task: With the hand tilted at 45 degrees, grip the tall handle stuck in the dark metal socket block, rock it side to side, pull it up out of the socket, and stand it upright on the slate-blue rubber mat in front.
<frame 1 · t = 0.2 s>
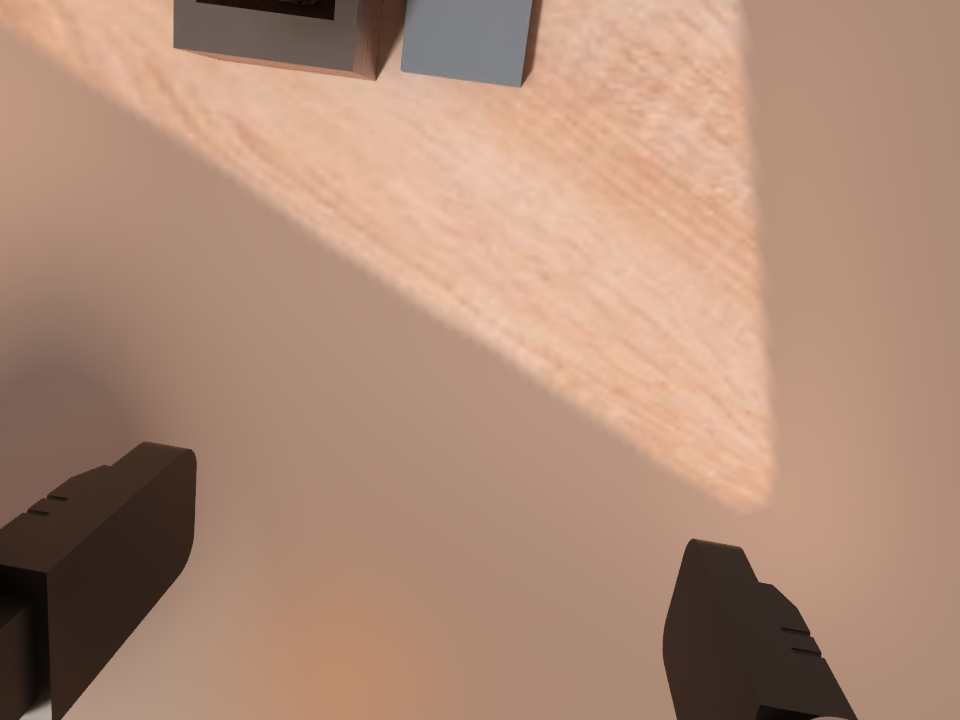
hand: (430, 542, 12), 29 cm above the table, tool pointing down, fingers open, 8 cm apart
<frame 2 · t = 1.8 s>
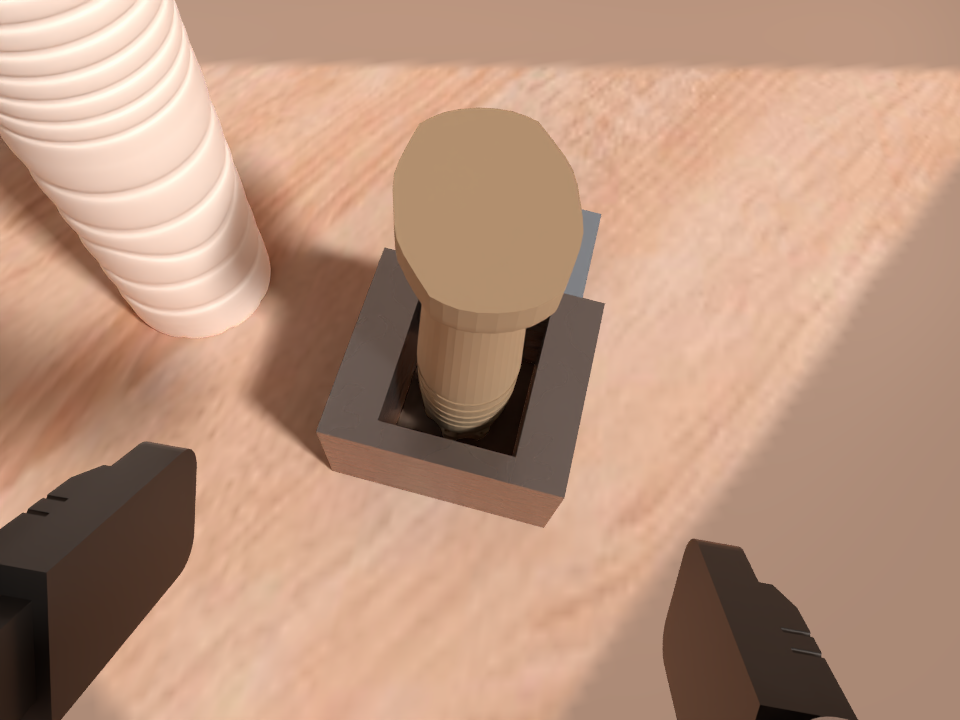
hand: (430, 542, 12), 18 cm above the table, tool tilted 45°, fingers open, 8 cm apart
water bottle: (200, 262, 35), on the table
socket block: (462, 410, 32), on the table
rubber mat: (506, 254, 36), on the table
handle: (462, 412, 32), resting in socket block
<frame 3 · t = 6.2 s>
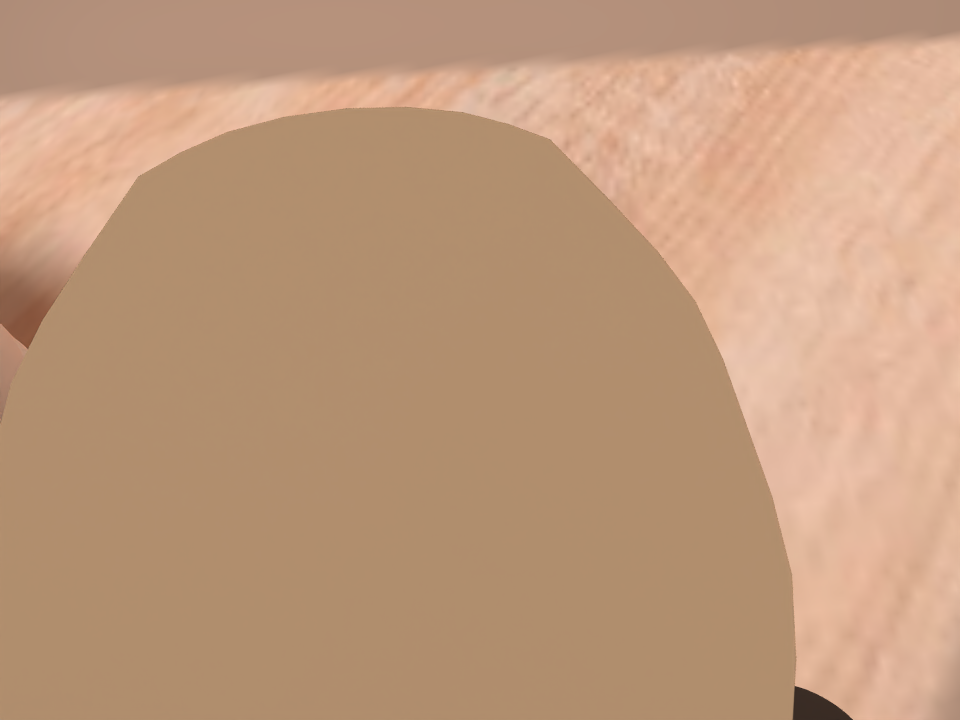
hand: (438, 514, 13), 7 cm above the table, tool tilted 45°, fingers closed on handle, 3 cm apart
handle: (424, 671, 18), resting in socket block, touching gripper
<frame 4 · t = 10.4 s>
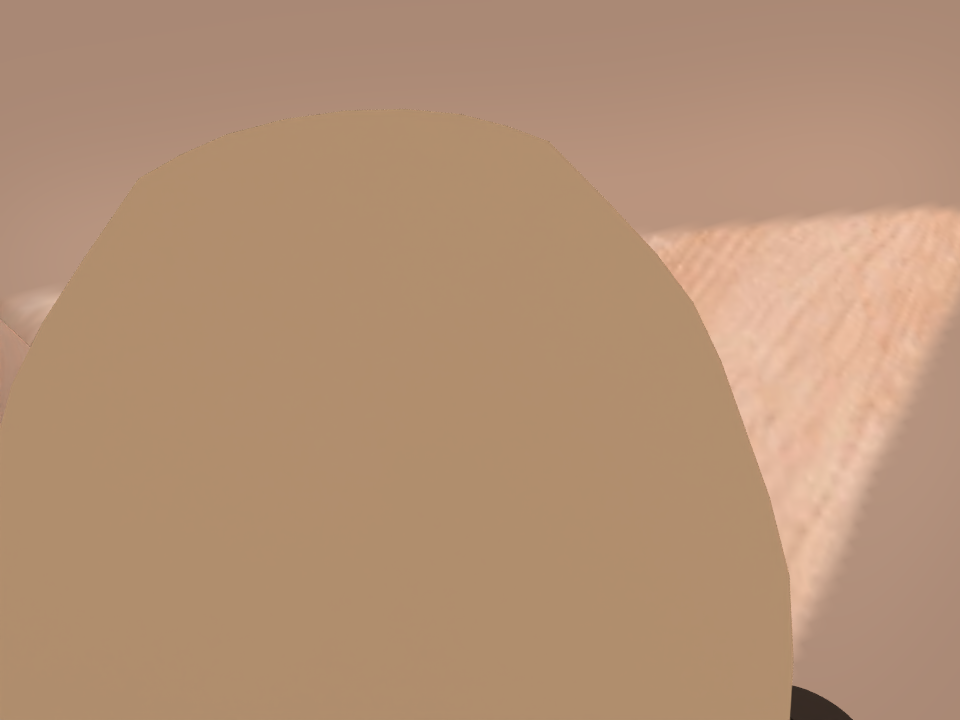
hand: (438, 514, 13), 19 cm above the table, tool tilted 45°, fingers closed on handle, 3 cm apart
water bottle: (131, 533, 31), on the table
handle: (425, 671, 18), point 12 cm above the table, touching gripper
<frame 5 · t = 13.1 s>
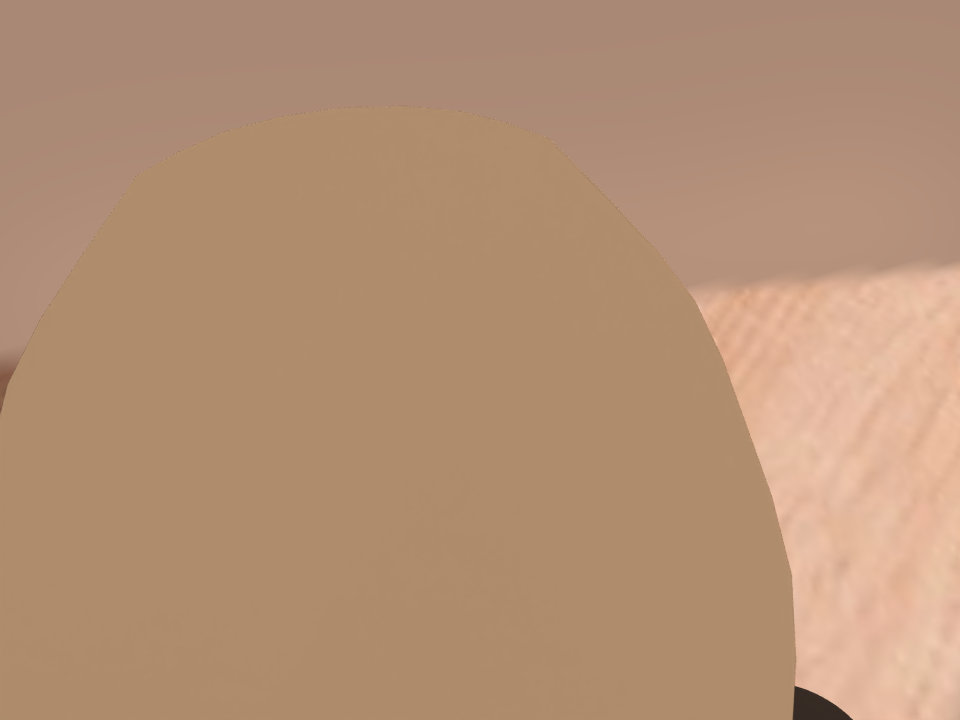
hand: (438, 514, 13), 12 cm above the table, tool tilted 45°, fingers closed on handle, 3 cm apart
handle: (425, 671, 18), point 5 cm above the table, touching gripper
when the fingers open (9 cm above the table, at t = 14.4 s): handle drops 1 cm, resting on rubber mat.
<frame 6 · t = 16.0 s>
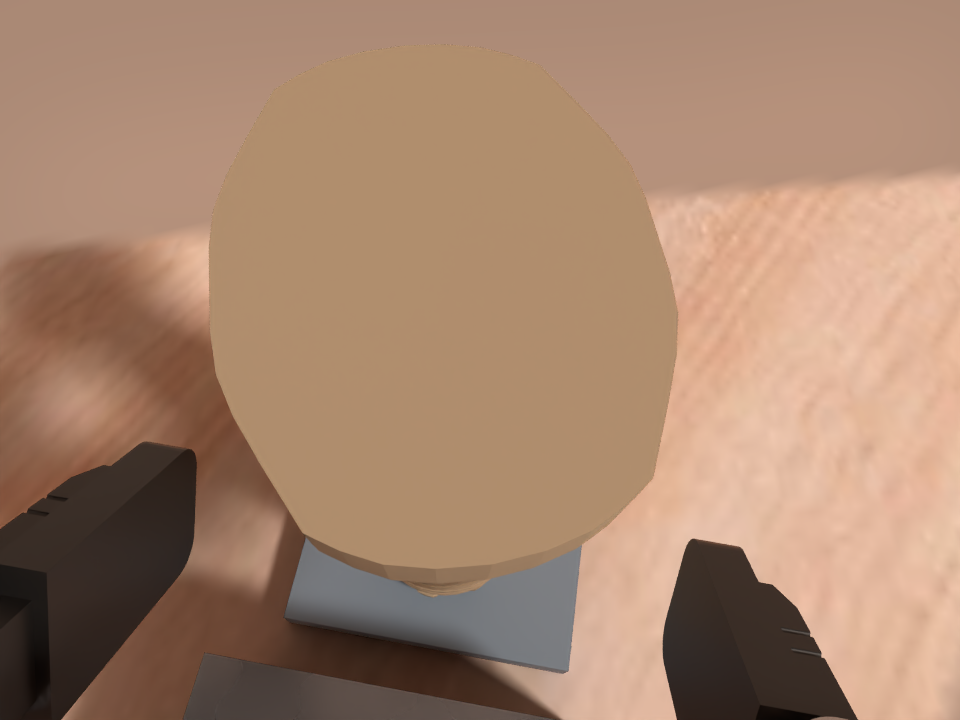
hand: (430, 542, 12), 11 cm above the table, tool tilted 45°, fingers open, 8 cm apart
rubber mat: (445, 544, 22), on the table
handle: (445, 543, 22), point 1 cm above the table, touching rubber mat
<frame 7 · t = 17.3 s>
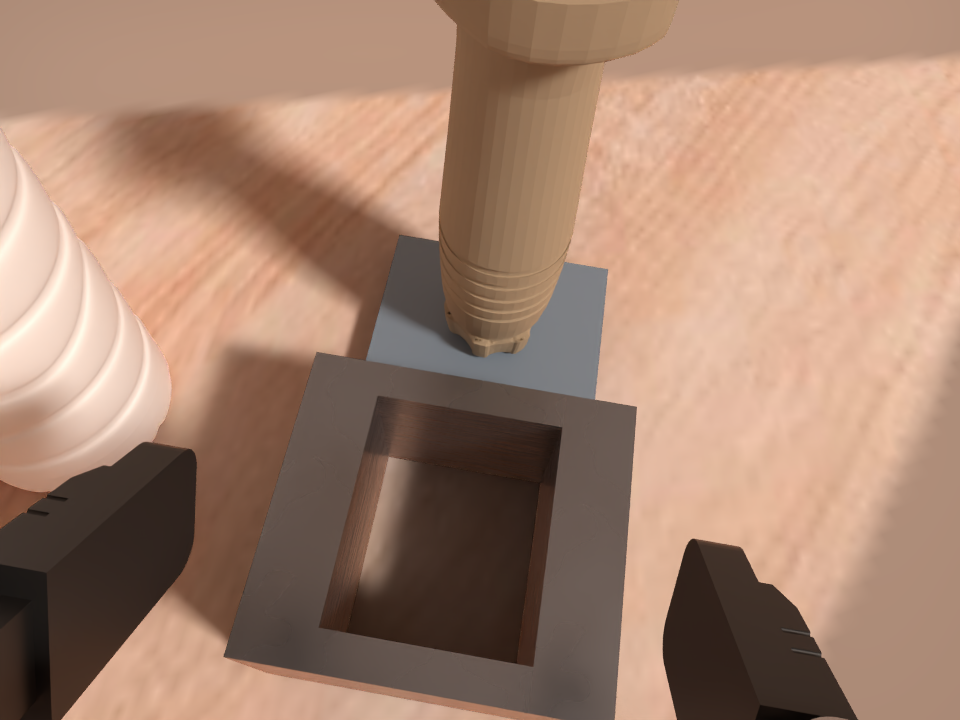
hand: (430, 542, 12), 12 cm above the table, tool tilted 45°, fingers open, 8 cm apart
water bottle: (76, 378, 26), on the table
socket block: (447, 561, 23), on the table
rubber mat: (489, 332, 27), on the table
handle: (490, 325, 26), point 1 cm above the table, touching rubber mat
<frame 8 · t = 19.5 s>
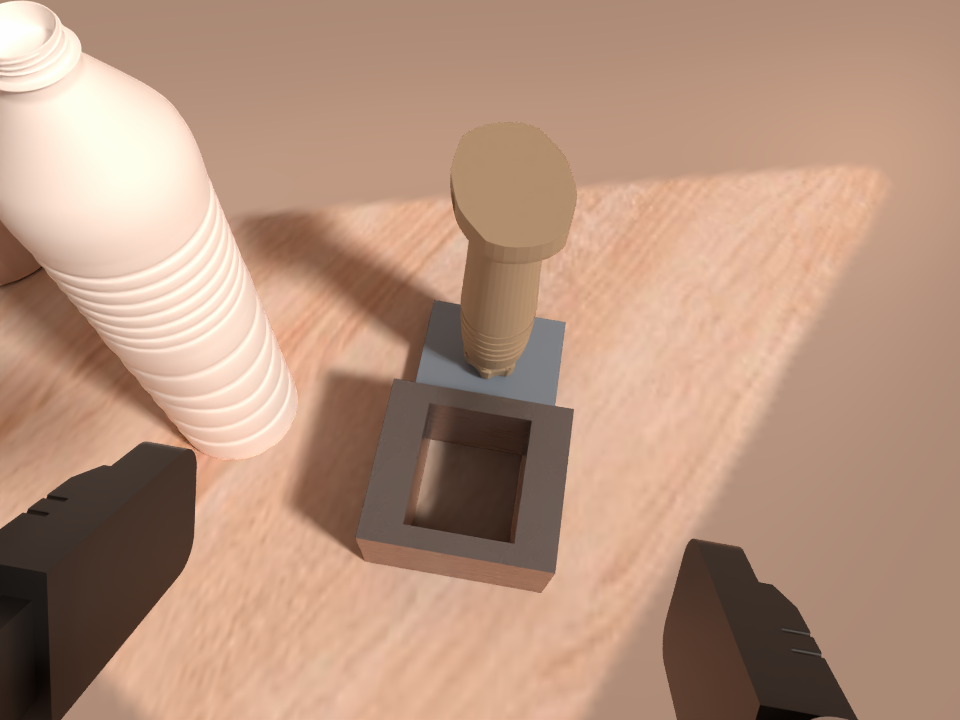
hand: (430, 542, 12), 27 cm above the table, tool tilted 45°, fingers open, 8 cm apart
water bottle: (237, 392, 42), on the table
socket block: (466, 500, 39), on the table
rubber mat: (490, 362, 43), on the table
handle: (492, 358, 42), point 1 cm above the table, touching rubber mat
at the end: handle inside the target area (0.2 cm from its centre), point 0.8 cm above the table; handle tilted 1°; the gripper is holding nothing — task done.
